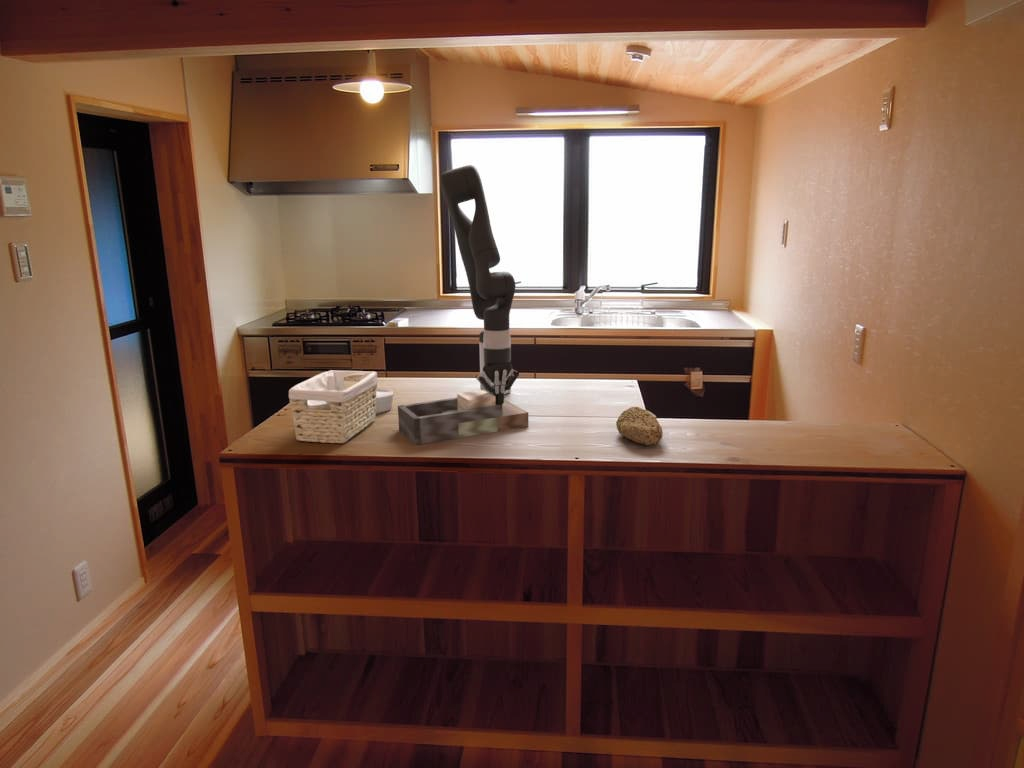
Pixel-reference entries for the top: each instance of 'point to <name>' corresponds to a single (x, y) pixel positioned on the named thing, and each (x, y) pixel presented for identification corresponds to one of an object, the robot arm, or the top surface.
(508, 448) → the top surface
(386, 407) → the ramekin
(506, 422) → the lane
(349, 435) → the storage basket
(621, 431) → the sponge
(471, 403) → the block
